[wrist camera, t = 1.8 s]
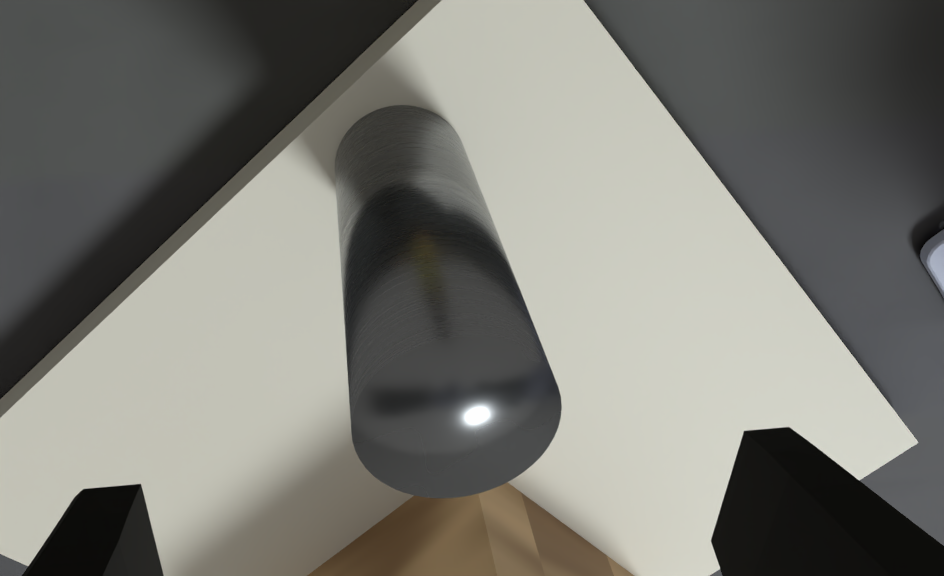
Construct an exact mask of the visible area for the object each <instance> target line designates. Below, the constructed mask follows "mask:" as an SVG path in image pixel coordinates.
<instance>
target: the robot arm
mask: <svg viewBox="0 0 944 576" xmlns="http://www.w3.org/2000/svg"><path fill="white" fill-rule="evenodd" d="M920 258H921V261H922V263H923V265H924V266H925V268H926V269H927V271H928V273H929V274H930V276H931V278H932V279H933V281H934V283H935V284H936V286H937V287H938V289H939V291H940V292H941V294H942V296H943V297H944V229H943V230H942V231H940V232H939V233H938V234H936V235H935V236H933V237H932V238H931V239H929V240H928V241H927V242H926V243H925V244H924V246H923V248H922V249H921V253H920ZM711 543H712V546H713V549H714V552H715V555H716V558H717V560H718V563H719V566H720V569H721V572H722V575H723V576H944V546H943V545H942V544H940V543H939V542H938V541H936V540H935V539H934V538H933V537H931V536H930V535H929V534H927V533H926V532H925V531H923V530H922V529H921V528H919V527H918V526H917V525H915V524H914V523H913V522H912V521H910V520H909V519H908V518H906V517H905V516H904V515H903V514H901V513H900V512H899V511H897V510H896V509H895V508H894V507H892V506H891V505H890V504H888V503H887V502H886V501H885V500H883V499H882V498H881V497H879V496H878V495H877V494H876V493H874V492H873V491H872V490H871V489H869V488H868V487H867V486H865V485H864V484H863V483H862V482H860V481H859V480H858V479H857V478H855V477H854V476H853V475H851V474H850V473H849V472H848V471H846V470H845V469H844V468H843V467H841V466H840V465H839V464H837V463H836V462H835V461H834V460H832V459H831V458H830V457H828V456H827V455H826V454H825V453H823V452H822V451H821V450H819V449H818V448H817V447H815V446H814V445H813V444H811V443H810V442H809V441H808V440H806V439H805V438H803V437H802V436H801V435H799V434H798V433H797V432H795V431H794V430H793V429H791V428H790V427H782V428H771V429H759V430H748V431H744V433H743V436H742V439H741V443H740V446H739V449H738V452H737V456H736V459H735V462H734V466H733V469H732V472H731V476H730V479H729V482H728V485H727V489H726V492H725V495H724V499H723V502H722V505H721V509H720V512H719V515H718V519H717V522H716V525H715V528H714V532H713V535H712V538H711ZM22 576H164V575H163V571H162V567H161V563H160V559H159V555H158V551H157V546H156V542H155V538H154V534H153V530H152V526H151V522H150V518H149V514H148V510H147V506H146V502H145V498H144V494H143V490H142V486H141V484H134V485H122V486H111V487H100V488H88V489H83V490H82V491H80V492H79V493H78V494H77V495H76V496H75V497H74V499H73V500H72V502H71V503H70V505H69V506H68V508H67V509H66V511H65V512H64V514H63V516H62V517H61V519H60V520H59V522H58V523H57V525H56V526H55V528H54V529H53V531H52V532H51V534H50V535H49V537H48V538H47V540H46V541H45V543H44V544H43V546H42V547H41V549H40V550H39V552H38V553H37V555H36V556H35V558H34V559H33V560H32V562H31V563H30V565H29V566H28V568H27V569H26V571H25V572H24V574H23V575H22Z"/></svg>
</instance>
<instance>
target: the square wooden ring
mask: <svg viewBox="0 0 944 576" xmlns="http://www.w3.org/2000/svg"><path fill="white" fill-rule="evenodd" d="M307 576H634V575H633V574H631V573H630V572H629V571H627V570H626V569H625V568H623V567H622V566H620V565H619V564H618V563H616V562H615V561H614V560H612V559H611V558H610V557H608V556H607V555H606V554H604V553H603V552H602V551H600V550H599V549H597V548H596V547H595V546H593V545H592V544H591V543H589V542H588V541H587V540H585V539H584V538H583V537H581V536H580V535H578V534H577V533H576V532H574V531H573V530H572V529H570V528H569V527H568V526H566V525H565V524H564V523H562V522H561V521H559V520H558V519H557V518H555V517H554V516H553V515H551V514H550V513H549V512H547V511H546V510H545V509H543V508H542V507H540V506H539V505H538V504H536V503H535V502H534V501H532V500H531V499H530V498H528V497H527V496H526V495H524V494H523V493H521V492H520V491H519V490H517V489H516V488H515V487H513V486H512V485H511V484H509V483H508V482H507V483H505V484H503V485H501V486H498V487H496V488H494V489H491V490H488V491H485V492H482V493H479V494H474V495H470V496H465V497H457V498H426V497H420V496H413V497H411V498H410V499H409V500H407V501H406V502H405V503H403V504H402V505H401V506H399V507H398V508H397V509H395V510H394V511H393V512H391V513H390V514H389V515H387V516H386V517H385V518H383V519H382V520H381V521H379V522H378V523H377V524H375V525H374V526H373V527H371V528H370V529H369V530H367V531H366V532H365V533H363V534H362V535H361V536H359V537H358V538H357V539H355V540H354V541H353V542H351V543H350V544H349V545H347V546H346V547H345V548H343V549H342V550H341V551H339V552H338V553H337V554H335V555H334V556H333V557H331V558H330V559H329V560H327V561H326V562H325V563H323V564H322V565H321V566H319V567H318V568H317V569H315V570H314V571H313V572H311V573H310V574H309V575H307Z"/></svg>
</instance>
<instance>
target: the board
mask: <svg viewBox="0 0 944 576" xmlns="http://www.w3.org/2000/svg"><path fill="white" fill-rule="evenodd" d="M394 105H410V106H416V107H421V108H424V109H427V110H430V111H432V112H434V113H436V114H437V115H439V116H440V117H442V118H443V119H445V120H446V121H447V122H448V123H449V124H450V125H451V126H452V127H453V128H454V130H455V131H456V132H457V134H458V136H459V137H460V139H461V141H462V144H463V146H464V149H465V151H466V154H467V156H468V159H469V161H470V164H471V166H472V169H473V171H474V174H475V177H476V179H477V182H478V184H479V187H480V189H481V192H482V194H483V197H484V199H485V202H486V205H487V207H488V210H489V212H490V215H491V217H492V220H493V222H494V225H495V227H496V230H497V232H498V235H499V238H500V240H501V243H502V245H503V248H504V250H505V253H506V255H507V258H508V260H509V263H510V266H511V268H512V271H513V273H514V276H515V278H516V281H517V283H518V286H519V288H520V291H521V293H522V296H523V299H524V301H525V304H526V306H527V309H528V311H529V314H530V316H531V319H532V321H533V324H534V327H535V329H536V332H537V334H538V337H539V339H540V342H541V344H542V347H543V349H544V352H545V354H546V357H547V360H548V362H549V365H550V367H551V370H552V372H553V375H554V377H555V380H556V382H557V385H558V388H559V392H560V395H561V404H562V410H561V419H560V423H559V426H558V429H557V432H556V434H555V436H554V439H553V440H552V442H551V443H550V445H549V447H548V448H547V450H546V451H545V452H544V453H543V455H542V456H541V457H540V458H539V459H538V460H537V461H536V462H535V463H534V464H533V465H532V466H531V467H529V468H528V469H527V470H526V471H524V472H523V473H522V474H520V475H519V476H517V477H516V478H514V479H512V480H511V481H509V482H508V483H509V484H511V485H512V486H513V487H515V488H516V489H517V490H519V491H520V492H521V493H523V494H524V495H526V496H527V497H528V498H530V499H531V500H532V501H534V502H535V503H536V504H538V505H539V506H540V507H542V508H543V509H545V510H546V511H547V512H549V513H550V514H551V515H553V516H554V517H555V518H557V519H558V520H559V521H561V522H562V523H564V524H565V525H566V526H568V527H569V528H570V529H572V530H573V531H574V532H576V533H577V534H578V535H580V536H581V537H583V538H584V539H585V540H587V541H588V542H589V543H591V544H592V545H593V546H595V547H596V548H597V549H599V550H600V551H602V552H603V553H604V554H606V555H607V556H608V557H610V558H611V559H612V560H614V561H615V562H616V563H618V564H619V565H620V566H622V567H623V568H625V569H626V570H627V571H629V572H630V573H631V574H633V575H634V576H709V575H711V574H713V573H714V572H716V571H717V570H719V569H720V566H719V563H718V560H717V558H716V555H715V552H714V549H713V546H712V543H711V538H712V535H713V532H714V528H715V525H716V522H717V519H718V515H719V512H720V509H721V505H722V502H723V499H724V495H725V492H726V489H727V485H728V482H729V479H730V476H731V472H732V469H733V466H734V462H735V459H736V456H737V452H738V449H739V446H740V443H741V439H742V436H743V433H744V431H748V430H759V429H771V428H782V427H790V428H791V429H793V430H794V431H795V432H797V433H798V434H799V435H801V436H802V437H803V438H805V439H806V440H808V441H809V442H810V443H811V444H813V445H814V446H815V447H817V448H818V449H819V450H821V451H822V452H823V453H825V454H826V455H827V456H828V457H830V458H831V459H832V460H834V461H835V462H836V463H837V464H839V465H840V466H841V467H843V468H844V469H845V470H846V471H848V472H849V473H850V474H851V475H853V476H854V477H855V478H857V479H858V480H860V479H862V478H864V477H865V476H867V475H868V474H870V473H871V472H873V471H875V470H876V469H878V468H879V467H881V466H882V465H884V464H886V463H887V462H889V461H890V460H892V459H893V458H895V457H897V456H898V455H900V454H901V453H903V452H904V451H906V450H908V449H909V448H911V447H912V446H914V445H915V444H917V443H918V441H917V440H916V439H915V437H914V436H913V435H912V433H911V432H910V431H909V429H908V428H907V427H906V426H905V424H904V423H903V422H902V420H901V419H900V418H899V416H898V415H897V414H896V412H895V411H894V410H893V408H892V407H891V406H890V404H889V403H888V402H887V400H886V399H885V398H884V396H883V395H882V394H881V393H880V391H879V390H878V389H877V387H876V386H875V385H874V383H873V382H872V381H871V379H870V378H869V377H868V375H867V374H866V373H865V371H864V370H863V369H862V367H861V366H860V365H859V363H858V362H857V361H856V359H855V358H854V357H853V356H852V354H851V353H850V352H849V350H848V349H847V348H846V346H845V345H844V344H843V342H842V341H841V340H840V338H839V337H838V336H837V334H836V333H835V332H834V330H833V329H832V328H831V326H830V325H829V324H828V323H827V321H826V320H825V319H824V317H823V316H822V315H821V313H820V312H819V311H818V309H817V308H816V307H815V305H814V304H813V303H812V301H811V300H810V299H809V297H808V296H807V295H806V293H805V292H804V291H803V289H802V288H801V287H800V286H799V284H798V283H797V282H796V280H795V279H794V278H793V276H792V275H791V274H790V272H789V271H788V270H787V268H786V267H785V266H784V264H783V263H782V262H781V260H780V259H779V258H778V256H777V255H776V254H775V253H774V251H773V250H772V249H771V247H770V246H769V245H768V243H767V242H766V241H765V239H764V238H763V237H762V235H761V234H760V233H759V231H758V230H757V229H756V227H755V226H754V225H753V223H752V222H751V221H750V219H749V218H748V217H747V216H746V214H745V213H744V212H743V210H742V209H741V208H740V206H739V205H738V204H737V202H736V201H735V200H734V198H733V197H732V196H731V194H730V193H729V192H728V190H727V189H726V188H725V186H724V185H723V184H722V183H721V181H720V180H719V179H718V177H717V176H716V175H715V173H714V172H713V171H712V169H711V168H710V167H709V165H708V164H707V163H706V161H705V160H704V159H703V157H702V156H701V155H700V153H699V152H698V151H697V149H696V148H695V147H694V146H693V144H692V143H691V142H690V140H689V139H688V138H687V136H686V135H685V134H684V132H683V131H682V130H681V128H680V127H679V126H678V124H677V123H676V122H675V120H674V119H673V118H672V116H671V115H670V114H669V113H668V111H667V110H666V109H665V107H664V106H663V105H662V103H661V102H660V101H659V99H658V98H657V97H656V95H655V94H654V93H653V91H652V90H651V89H650V87H649V86H648V85H647V83H646V82H645V81H644V79H643V78H642V77H641V76H640V74H639V73H638V72H637V70H636V69H635V68H634V66H633V65H632V64H631V62H630V61H629V60H628V58H627V57H626V56H625V54H624V53H623V52H622V50H621V49H620V48H619V46H618V45H617V44H616V43H615V41H614V40H613V39H612V37H611V36H610V35H609V33H608V32H607V31H606V29H605V28H604V27H603V25H602V24H601V23H600V21H599V20H598V19H597V17H596V16H595V15H594V13H593V12H592V11H591V9H590V8H589V7H588V6H587V4H586V3H585V2H584V0H418V1H417V2H416V3H415V4H414V5H413V6H412V7H411V8H410V9H409V10H407V11H406V12H405V13H404V14H403V15H402V16H401V17H400V18H399V19H398V20H397V21H396V22H395V23H394V24H393V25H392V26H391V27H390V28H389V29H388V30H387V31H386V32H384V33H383V34H382V35H381V36H380V37H379V38H378V39H377V40H376V41H375V42H374V43H373V44H372V45H371V46H370V47H369V48H368V49H367V50H366V51H365V52H364V53H362V54H361V55H360V56H359V57H358V58H357V59H356V60H355V61H354V62H353V63H352V64H351V65H350V66H349V67H348V68H347V69H346V70H345V71H344V72H343V73H342V74H340V75H339V76H338V77H337V78H336V79H335V80H334V81H333V82H332V83H331V84H330V85H329V86H328V87H327V88H326V89H325V90H324V91H323V92H322V93H321V94H320V95H319V96H317V97H316V98H315V99H314V100H313V101H312V102H311V103H310V104H309V105H308V106H307V107H306V108H305V109H304V110H303V111H302V112H301V113H300V114H299V115H298V116H297V117H295V118H294V119H293V120H292V121H291V122H290V123H289V124H288V125H287V126H286V127H285V128H284V129H283V130H282V131H281V132H280V133H279V134H278V135H277V136H276V137H275V138H273V139H272V140H271V141H270V142H269V143H268V144H267V145H266V146H265V147H264V148H263V149H262V150H261V151H260V152H259V153H258V154H257V155H256V156H255V157H254V158H253V159H251V160H250V161H249V162H248V163H247V164H246V165H245V166H244V167H243V168H242V169H241V170H240V171H239V172H238V173H237V174H236V175H235V176H234V177H233V178H232V179H231V180H230V181H228V182H227V183H226V184H225V185H224V186H223V187H222V188H221V189H220V190H219V191H218V192H217V193H216V194H215V195H214V196H213V197H212V198H211V199H210V200H209V201H208V202H206V203H205V204H204V205H203V206H202V207H201V208H200V209H199V210H198V211H197V212H196V213H195V214H194V215H193V216H192V217H191V218H190V219H189V220H188V221H187V222H186V223H184V224H183V225H182V226H181V227H180V228H179V229H178V230H177V231H176V232H175V233H174V234H173V235H172V236H171V237H170V238H169V239H168V240H167V241H166V242H165V243H164V244H163V245H161V246H160V247H159V248H158V249H157V250H156V251H155V252H154V253H153V254H152V255H151V256H150V257H149V258H148V259H147V260H146V261H145V262H144V263H143V264H142V265H141V266H139V267H138V268H137V269H136V270H135V271H134V272H133V273H132V274H131V275H130V276H129V277H128V278H127V279H126V280H125V281H124V282H123V283H122V284H121V285H120V286H119V287H117V288H116V289H115V290H114V291H113V292H112V293H111V294H110V295H109V296H108V297H107V298H106V299H105V300H104V301H103V302H102V303H101V304H100V305H99V306H98V307H97V308H96V309H94V310H93V311H92V312H91V313H90V314H89V315H88V316H87V317H86V318H85V319H84V320H83V321H82V322H81V323H80V324H79V325H78V326H77V327H76V328H75V329H74V330H72V331H71V332H70V333H69V334H68V335H67V336H66V337H65V338H64V339H63V340H62V341H61V342H60V343H59V344H58V345H57V346H56V347H55V348H54V349H53V350H52V351H50V352H49V353H48V354H47V355H46V356H45V357H44V358H43V359H42V360H41V361H40V362H39V363H38V364H37V365H36V366H35V367H34V368H33V369H32V370H31V371H30V372H28V373H27V374H26V375H25V376H24V377H23V378H22V379H21V380H20V381H19V382H18V383H17V384H16V385H15V386H14V387H13V388H12V389H11V390H10V391H9V392H8V393H7V394H5V395H4V396H3V397H2V398H1V399H0V554H2V555H4V556H6V557H9V558H11V559H13V560H15V561H18V562H20V563H22V564H24V565H27V566H29V565H30V563H31V562H32V560H33V559H34V558H35V556H36V555H37V553H38V552H39V550H40V549H41V547H42V546H43V544H44V543H45V541H46V540H47V538H48V537H49V535H50V534H51V532H52V531H53V529H54V528H55V526H56V525H57V523H58V522H59V520H60V519H61V517H62V516H63V514H64V512H65V511H66V509H67V508H68V506H69V505H70V503H71V502H72V500H73V499H74V497H75V496H76V495H77V494H78V493H79V492H80V491H82V490H83V489H88V488H100V487H111V486H122V485H134V484H141V486H142V490H143V494H144V498H145V502H146V506H147V510H148V514H149V518H150V522H151V526H152V530H153V534H154V538H155V542H156V546H157V551H158V555H159V559H160V563H161V567H162V571H163V575H164V576H307V575H309V574H310V573H311V572H313V571H314V570H315V569H317V568H318V567H319V566H321V565H322V564H323V563H325V562H326V561H327V560H329V559H330V558H331V557H333V556H334V555H335V554H337V553H338V552H339V551H341V550H342V549H343V548H345V547H346V546H347V545H349V544H350V543H351V542H353V541H354V540H355V539H357V538H358V537H359V536H361V535H362V534H363V533H365V532H366V531H367V530H369V529H370V528H371V527H373V526H374V525H375V524H377V523H378V522H379V521H381V520H382V519H383V518H385V517H386V516H387V515H389V514H390V513H391V512H393V511H394V510H395V509H397V508H398V507H399V506H401V505H402V504H403V503H405V502H406V501H407V500H409V499H410V498H411V497H413V496H414V495H411V494H407V493H403V492H401V491H398V490H396V489H393V488H391V487H389V486H388V485H386V484H384V483H382V482H381V481H380V480H378V479H377V478H376V477H374V476H373V475H372V474H371V473H370V472H369V471H368V470H367V469H366V468H365V466H364V465H363V464H362V462H361V461H360V459H359V457H358V455H357V453H356V451H355V448H354V445H353V441H352V433H351V419H350V403H349V387H348V371H347V356H346V340H345V324H344V309H343V293H342V277H341V262H340V246H339V230H338V215H337V199H336V183H335V158H336V153H337V150H338V147H339V144H340V142H341V140H342V138H343V137H344V135H345V134H346V132H347V131H348V130H349V129H350V128H351V127H352V125H353V124H354V123H356V122H357V121H358V120H359V119H361V118H362V117H364V116H365V115H367V114H368V113H371V112H373V111H375V110H377V109H381V108H384V107H388V106H394Z"/></svg>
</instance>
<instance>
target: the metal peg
mask: <svg viewBox="0 0 944 576" xmlns="http://www.w3.org/2000/svg"><path fill="white" fill-rule="evenodd" d="M335 183H336V199H337V215H338V230H339V246H340V262H341V277H342V293H343V309H344V324H345V340H346V356H347V371H348V387H349V403H350V419H351V433H352V441H353V445H354V448H355V451H356V453H357V455H358V457H359V459H360V461H361V462H362V464H363V465H364V466H365V468H366V469H367V470H368V471H369V472H370V473H371V474H372V475H373V476H374V477H376V478H377V479H378V480H380V481H381V482H382V483H384V484H386V485H388V486H389V487H391V488H393V489H396V490H398V491H401V492H403V493H407V494H411V495H414V496H420V497H426V498H457V497H465V496H470V495H474V494H479V493H482V492H485V491H488V490H491V489H494V488H496V487H498V486H501V485H503V484H505V483H507V482H509V481H511V480H512V479H514V478H516V477H517V476H519V475H520V474H522V473H523V472H524V471H526V470H527V469H528V468H529V467H531V466H532V465H533V464H534V463H535V462H536V461H537V460H538V459H539V458H540V457H541V456H542V455H543V453H544V452H545V451H546V450H547V448H548V447H549V445H550V443H551V442H552V440H553V439H554V436H555V434H556V432H557V429H558V426H559V423H560V419H561V410H562V404H561V395H560V392H559V388H558V385H557V382H556V380H555V377H554V375H553V372H552V370H551V367H550V365H549V362H548V360H547V357H546V354H545V352H544V349H543V347H542V344H541V342H540V339H539V337H538V334H537V332H536V329H535V327H534V324H533V321H532V319H531V316H530V314H529V311H528V309H527V306H526V304H525V301H524V299H523V296H522V293H521V291H520V288H519V286H518V283H517V281H516V278H515V276H514V273H513V271H512V268H511V266H510V263H509V260H508V258H507V255H506V253H505V250H504V248H503V245H502V243H501V240H500V238H499V235H498V232H497V230H496V227H495V225H494V222H493V220H492V217H491V215H490V212H489V210H488V207H487V205H486V202H485V199H484V197H483V194H482V192H481V189H480V187H479V184H478V182H477V179H476V177H475V174H474V171H473V169H472V166H471V164H470V161H469V159H468V156H467V154H466V151H465V149H464V146H463V144H462V141H461V139H460V137H459V136H458V134H457V132H456V131H455V130H454V128H453V127H452V126H451V125H450V124H449V123H448V122H447V121H446V120H445V119H443V118H442V117H440V116H439V115H437V114H436V113H434V112H432V111H430V110H427V109H424V108H421V107H416V106H410V105H394V106H388V107H384V108H381V109H377V110H375V111H373V112H371V113H368V114H367V115H365V116H364V117H362V118H361V119H359V120H358V121H357V122H356V123H354V124H353V125H352V127H351V128H350V129H349V130H348V131H347V132H346V134H345V135H344V137H343V138H342V140H341V142H340V144H339V147H338V150H337V153H336V158H335Z"/></svg>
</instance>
